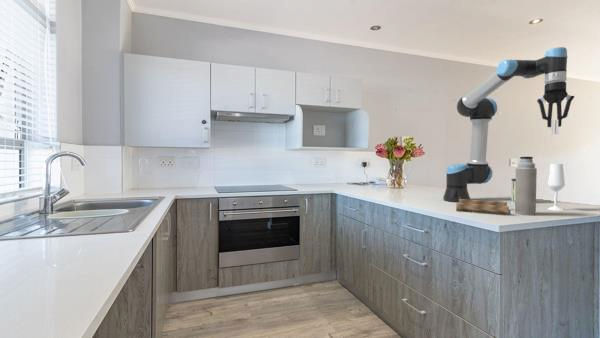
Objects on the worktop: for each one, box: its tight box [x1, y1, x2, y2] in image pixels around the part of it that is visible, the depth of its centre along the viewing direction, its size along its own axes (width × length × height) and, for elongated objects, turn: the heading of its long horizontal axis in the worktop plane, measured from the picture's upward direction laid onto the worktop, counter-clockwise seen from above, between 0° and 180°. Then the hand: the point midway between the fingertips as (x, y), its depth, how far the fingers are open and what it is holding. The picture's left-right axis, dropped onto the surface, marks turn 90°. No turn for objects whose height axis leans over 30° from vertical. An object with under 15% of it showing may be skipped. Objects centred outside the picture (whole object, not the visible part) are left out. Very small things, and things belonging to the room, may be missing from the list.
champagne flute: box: [547, 163, 566, 212], centre depth 148 cm, size 7×7×24 cm
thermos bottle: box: [514, 156, 538, 216], centre depth 139 cm, size 8×8×28 cm
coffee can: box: [511, 178, 516, 203], centre depth 174 cm, size 10×10×14 cm
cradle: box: [455, 199, 510, 216], centre depth 150 cm, size 22×18×4 cm
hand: (554, 134), depth 133 cm, fingers closed
